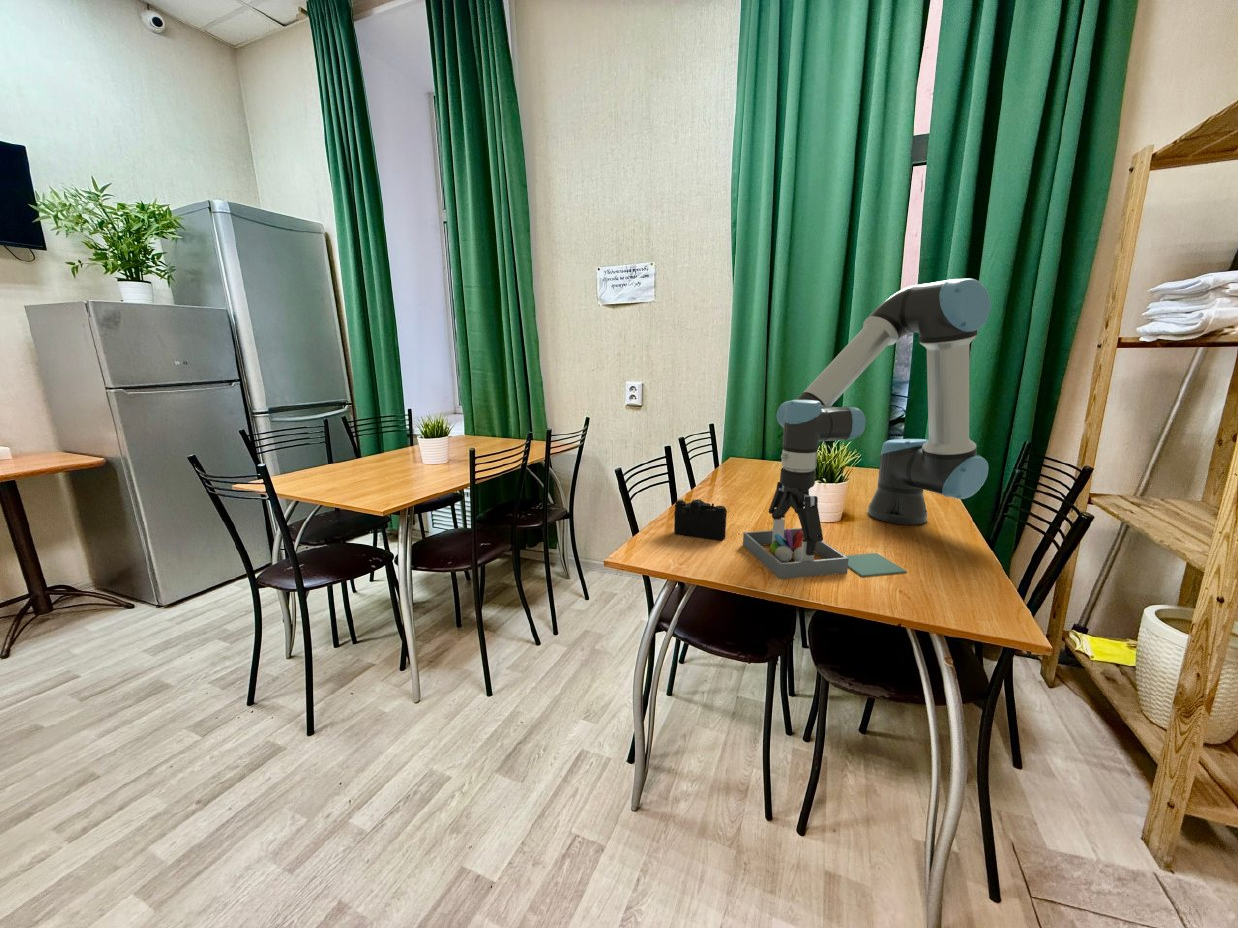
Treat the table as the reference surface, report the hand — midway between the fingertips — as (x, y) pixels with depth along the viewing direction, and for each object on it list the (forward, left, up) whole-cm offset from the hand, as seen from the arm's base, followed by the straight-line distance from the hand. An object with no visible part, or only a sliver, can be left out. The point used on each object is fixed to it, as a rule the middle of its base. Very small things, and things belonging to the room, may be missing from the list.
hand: (791, 555), depth 116 cm
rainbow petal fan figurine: (0, 0, -1) cm, 1 cm away
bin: (0, 0, -1) cm, 1 cm away
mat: (-16, +7, -1) cm, 17 cm away
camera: (+15, -21, -1) cm, 26 cm away
